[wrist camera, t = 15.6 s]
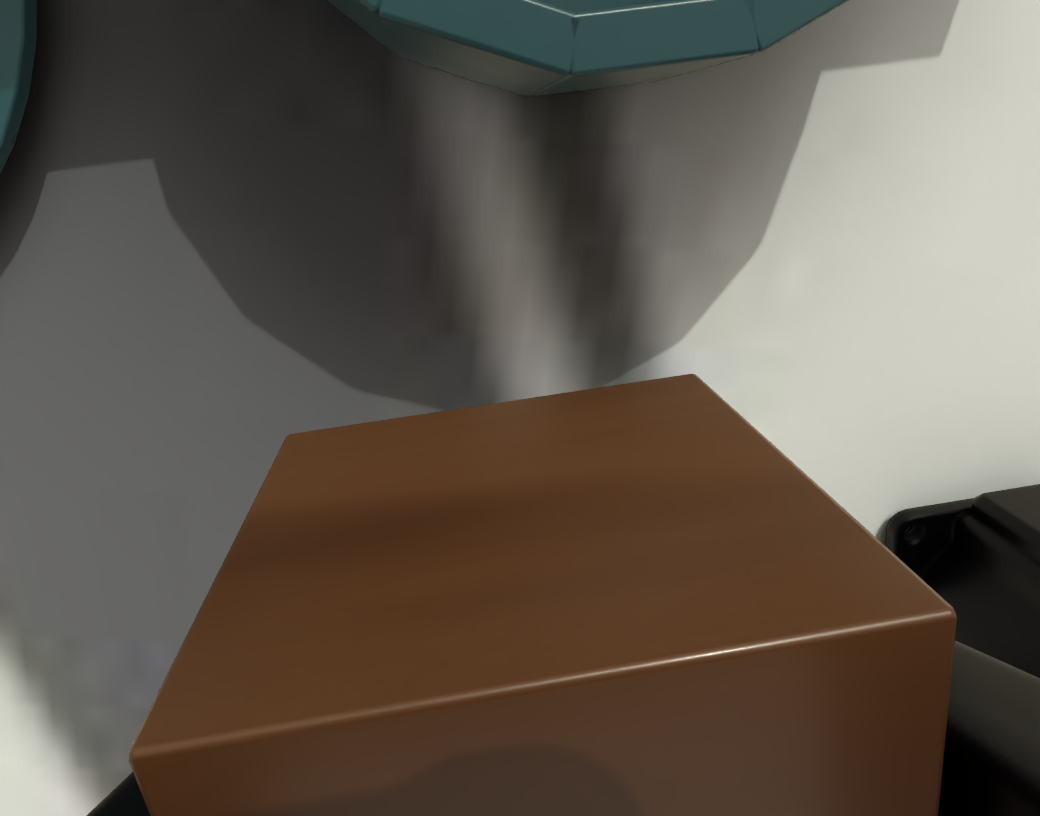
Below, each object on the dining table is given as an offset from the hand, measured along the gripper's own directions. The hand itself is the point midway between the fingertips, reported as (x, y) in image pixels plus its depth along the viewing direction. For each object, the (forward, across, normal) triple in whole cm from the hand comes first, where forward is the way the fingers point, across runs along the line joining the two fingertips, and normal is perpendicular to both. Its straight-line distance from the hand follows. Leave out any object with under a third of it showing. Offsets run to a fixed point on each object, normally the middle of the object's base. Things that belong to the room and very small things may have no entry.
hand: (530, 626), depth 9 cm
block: (+1, 0, 0) cm, 1 cm away
